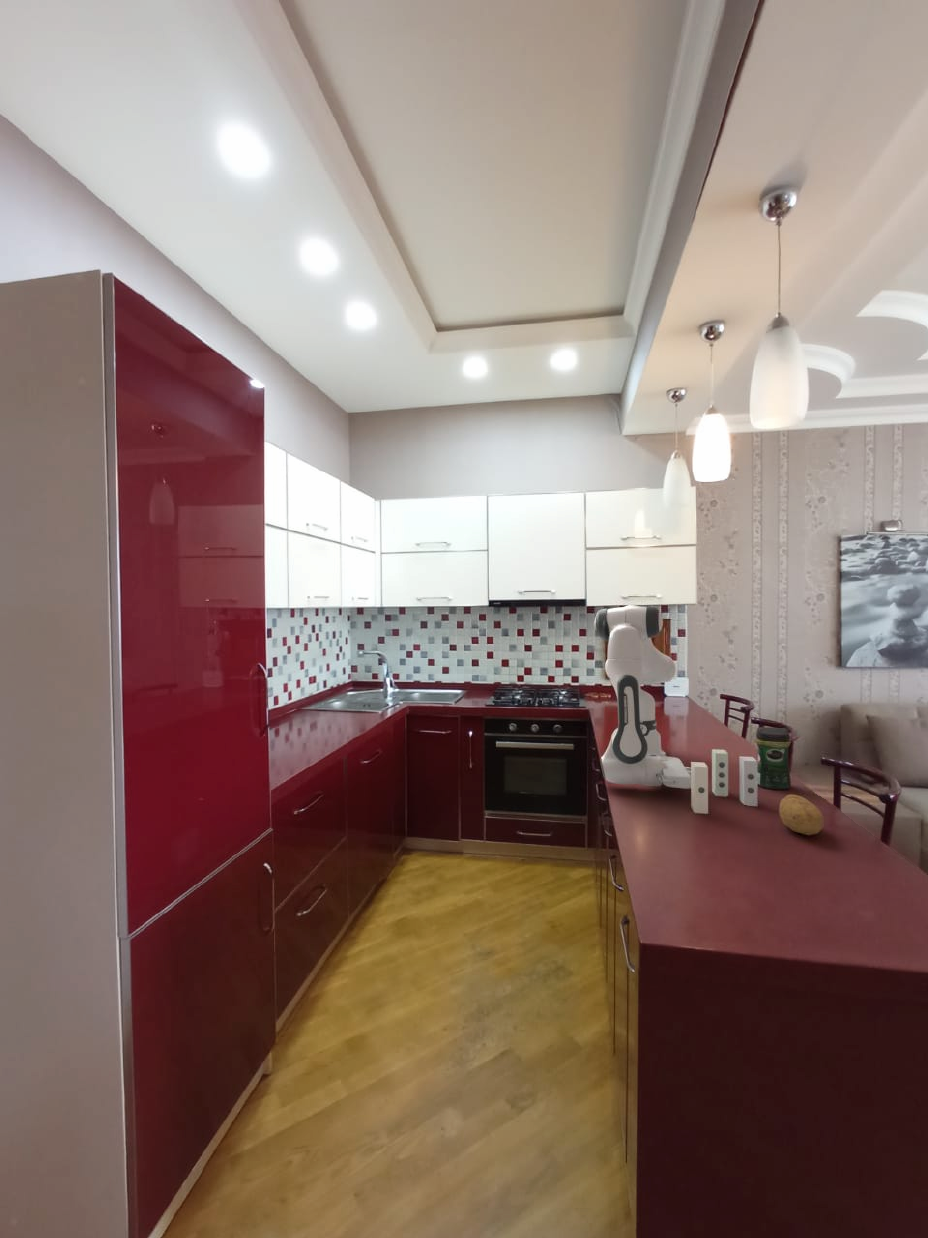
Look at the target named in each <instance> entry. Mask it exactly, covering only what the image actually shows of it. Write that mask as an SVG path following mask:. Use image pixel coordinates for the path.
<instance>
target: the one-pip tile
mask: <svg viewBox="0 0 928 1238" xmlns="http://www.w3.org/2000/svg"><path fill="white" fill-rule="evenodd" d="M690 768H691V788H690V789H691V790H690V792H691V794H690V797H691V798H690V801H691V803H690V807H691V809H692V811H693V813H694V814H705V815H706V814H708V815H709V767H708V765H707V764H706V763H705V762H704V761H703V762H697V761H691V762H690Z"/></svg>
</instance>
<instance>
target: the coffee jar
mask: <svg viewBox="0 0 928 1238" xmlns="http://www.w3.org/2000/svg"><path fill="white" fill-rule="evenodd" d="M755 743H756V746H757V760H756V761H757V786H760V787H762V788H766V789H774V790H788V789H791V787H792V782H791V781H792V779H791V772H790V767H789V765H790V764H789V747H790V746H791V739H790V734H789V731H788V729H786V728H785V727H784V728H783V727H782V728H781V727H770V726H769V727H768V726H767V727H765V726H758V727H757V728H756V734H755Z"/></svg>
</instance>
